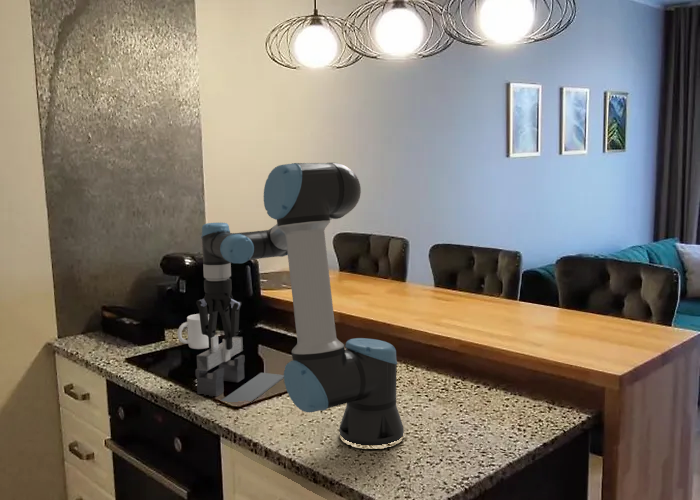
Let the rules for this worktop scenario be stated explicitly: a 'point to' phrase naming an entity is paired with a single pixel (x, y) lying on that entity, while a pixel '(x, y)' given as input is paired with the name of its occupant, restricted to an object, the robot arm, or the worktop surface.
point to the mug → (194, 333)
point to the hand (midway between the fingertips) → (221, 359)
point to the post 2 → (233, 369)
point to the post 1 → (210, 382)
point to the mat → (254, 387)
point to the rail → (217, 354)
